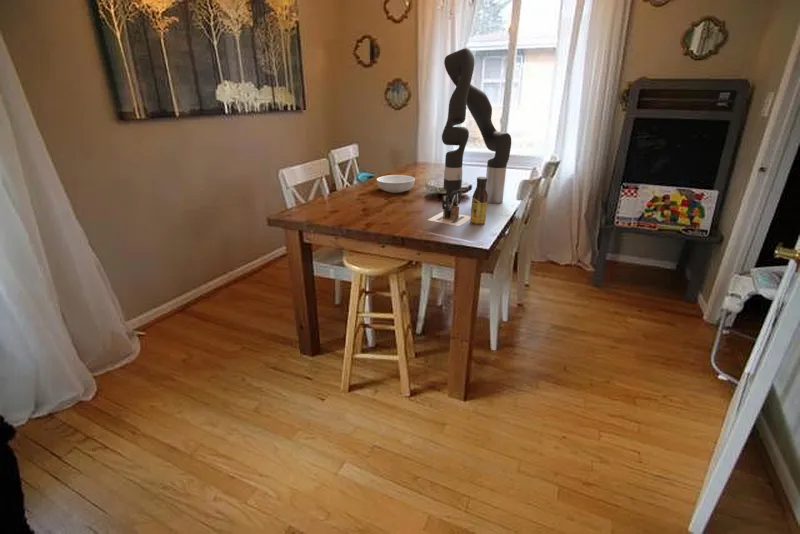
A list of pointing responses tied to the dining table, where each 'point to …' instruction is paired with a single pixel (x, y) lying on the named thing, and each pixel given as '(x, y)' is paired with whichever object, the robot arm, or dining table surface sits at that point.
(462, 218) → the letter card
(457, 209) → the walnut block
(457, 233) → the dining table surface
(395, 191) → the serving bowl
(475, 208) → the sauce bottle
